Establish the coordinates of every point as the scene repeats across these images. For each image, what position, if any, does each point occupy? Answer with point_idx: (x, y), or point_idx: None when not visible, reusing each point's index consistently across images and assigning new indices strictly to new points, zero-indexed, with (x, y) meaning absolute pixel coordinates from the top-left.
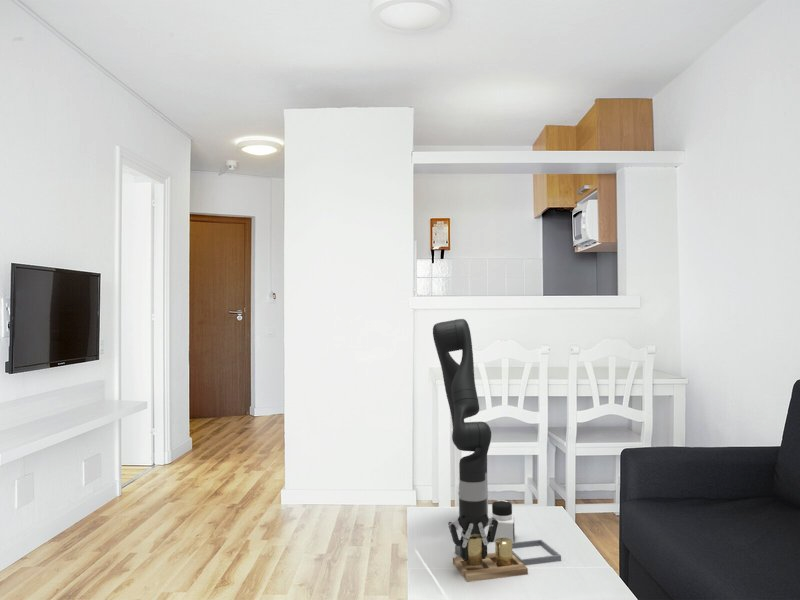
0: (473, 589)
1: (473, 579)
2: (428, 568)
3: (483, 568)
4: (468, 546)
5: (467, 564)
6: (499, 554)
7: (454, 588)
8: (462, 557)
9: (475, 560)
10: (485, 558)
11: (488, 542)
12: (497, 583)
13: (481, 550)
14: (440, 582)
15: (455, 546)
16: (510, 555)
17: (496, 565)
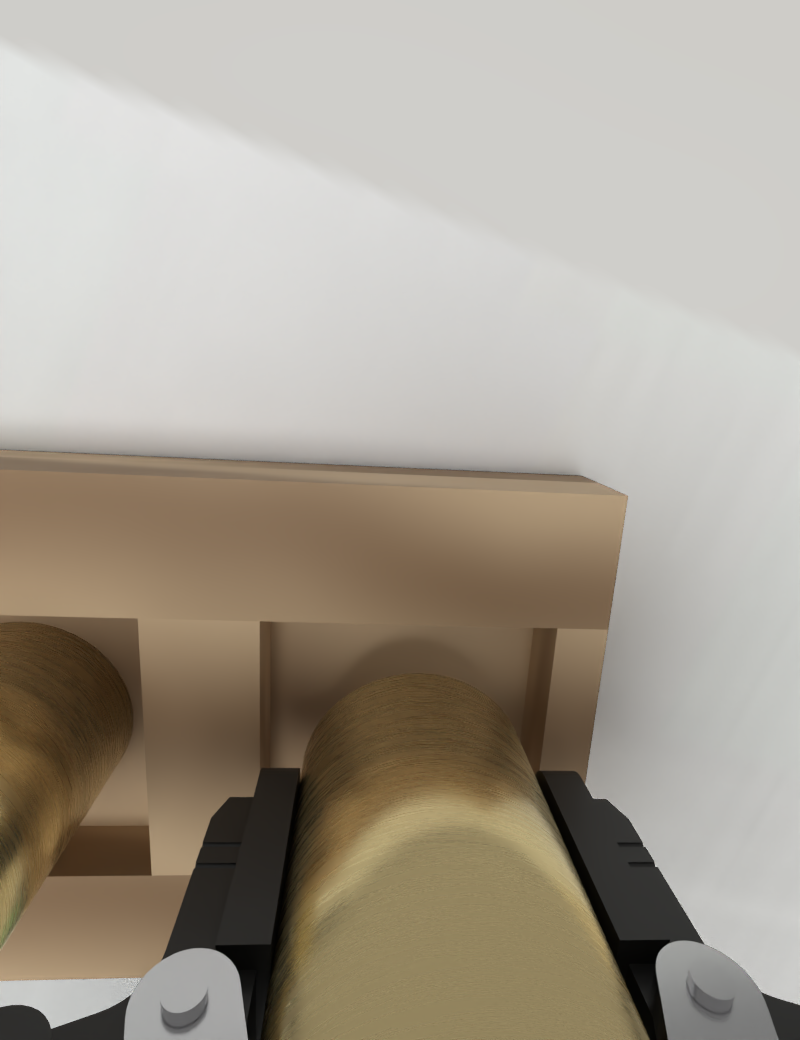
0: (561, 371)
1: (529, 482)
2: (748, 899)
3: (287, 729)
4: (608, 954)
5: None
6: (6, 779)
7: (730, 458)
8: (617, 816)
9: (448, 716)
10: None
11: (102, 1024)
12: (247, 422)
13: (326, 846)
14: (789, 620)
15: None
16: None
17: (122, 726)
